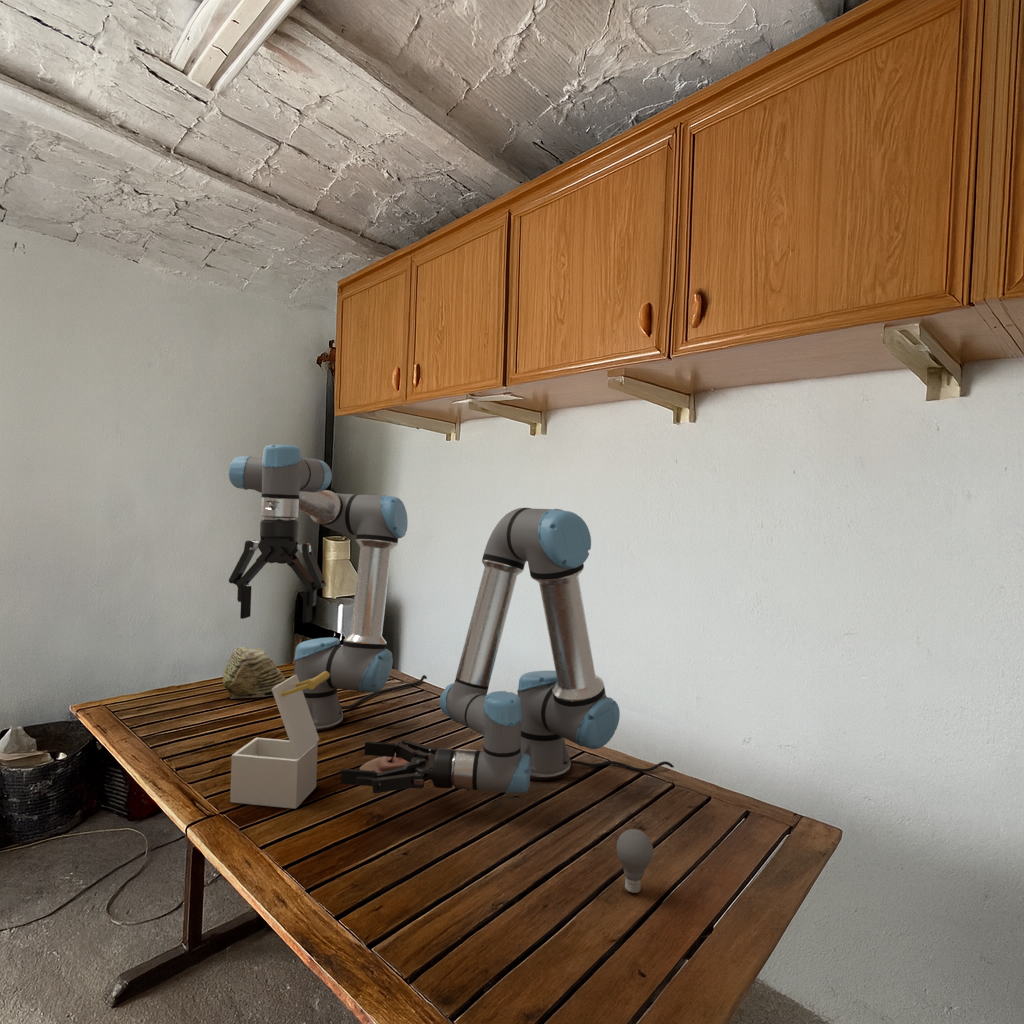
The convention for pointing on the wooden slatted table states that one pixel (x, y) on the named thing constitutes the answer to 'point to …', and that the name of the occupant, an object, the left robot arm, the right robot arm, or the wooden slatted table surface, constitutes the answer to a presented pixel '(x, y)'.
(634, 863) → the light bulb
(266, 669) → the fossil
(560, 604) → the right robot arm
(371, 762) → the anatomical model
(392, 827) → the wooden slatted table surface
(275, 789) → the chest
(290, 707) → the lid
